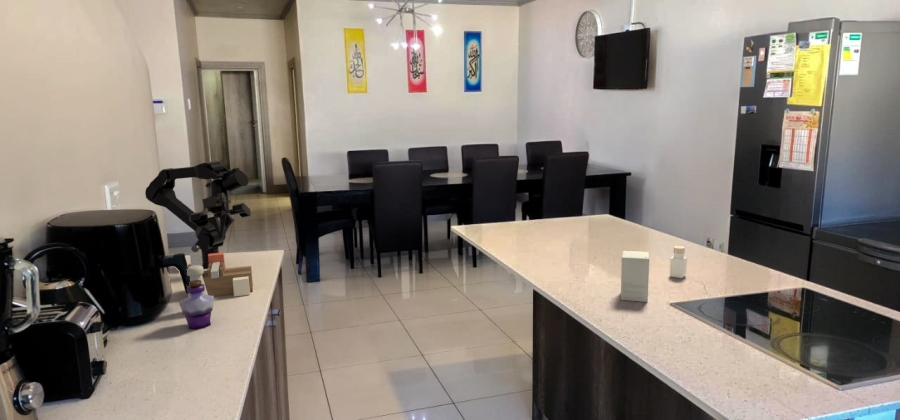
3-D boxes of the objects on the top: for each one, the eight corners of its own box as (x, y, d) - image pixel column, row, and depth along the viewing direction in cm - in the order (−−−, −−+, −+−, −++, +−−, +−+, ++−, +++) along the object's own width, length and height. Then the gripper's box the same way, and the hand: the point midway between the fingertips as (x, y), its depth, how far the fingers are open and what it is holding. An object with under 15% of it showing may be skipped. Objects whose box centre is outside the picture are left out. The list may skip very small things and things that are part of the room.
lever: (192, 278, 171) (189, 245, 173) (203, 277, 172) (201, 244, 174) (191, 277, 169) (188, 244, 170) (202, 276, 170) (200, 243, 171)
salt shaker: (202, 315, 157) (197, 269, 154) (183, 314, 158) (178, 269, 156) (214, 308, 163) (210, 263, 160) (196, 307, 164) (191, 262, 161)
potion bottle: (191, 319, 155) (186, 276, 152) (223, 318, 154) (218, 275, 152) (175, 332, 146) (169, 286, 144) (208, 331, 146) (204, 286, 144)
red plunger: (210, 272, 181) (208, 253, 180) (225, 270, 182) (223, 252, 181) (207, 284, 169) (205, 264, 168) (223, 282, 170) (221, 263, 169)
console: (191, 291, 178) (188, 265, 176) (252, 284, 183) (250, 259, 182) (188, 299, 170) (185, 272, 169) (252, 291, 176) (250, 265, 174)
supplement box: (647, 294, 167) (649, 251, 164) (647, 302, 160) (649, 258, 157) (621, 291, 169) (622, 249, 167) (619, 300, 162) (621, 256, 160)
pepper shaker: (686, 276, 182) (688, 246, 180) (681, 279, 179) (683, 249, 177) (673, 273, 185) (675, 244, 183) (668, 276, 182) (670, 247, 180)
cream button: (234, 293, 174) (232, 278, 173) (249, 292, 175) (248, 276, 174) (234, 296, 172) (232, 280, 171) (249, 294, 173) (248, 278, 172)
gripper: (180, 192, 189) (181, 236, 183) (236, 180, 189) (238, 224, 183) (197, 205, 200) (198, 247, 194) (250, 194, 199) (252, 235, 193)
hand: (221, 238), depth 191 cm, fingers closed
